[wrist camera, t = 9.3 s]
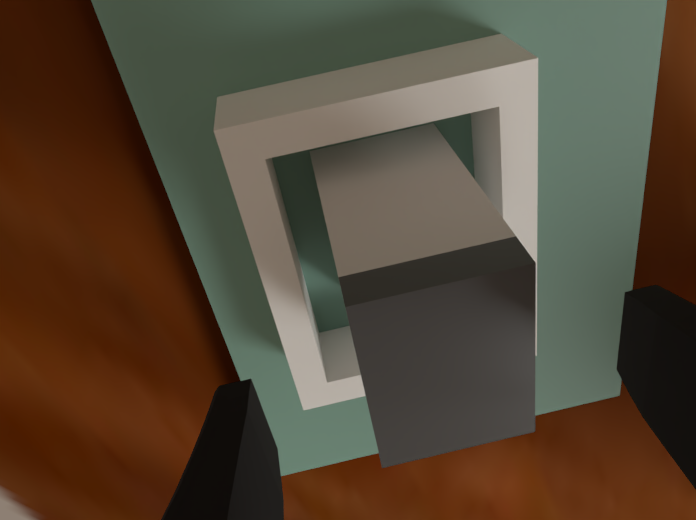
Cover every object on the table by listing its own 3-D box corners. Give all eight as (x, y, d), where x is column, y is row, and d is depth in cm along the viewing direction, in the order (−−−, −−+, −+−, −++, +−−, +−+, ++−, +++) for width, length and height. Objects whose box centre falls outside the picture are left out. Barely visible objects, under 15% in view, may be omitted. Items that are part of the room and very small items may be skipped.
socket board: (605, 375, 22) (652, 441, 19) (277, 453, 21) (281, 530, 19) (670, -293, 11) (788, -336, 9) (43, -160, 11) (-14, -167, 9)
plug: (447, 260, 16) (534, 431, 12) (339, 284, 16) (382, 468, 11) (433, 123, 14) (535, 263, 9) (309, 151, 14) (344, 307, 9)
